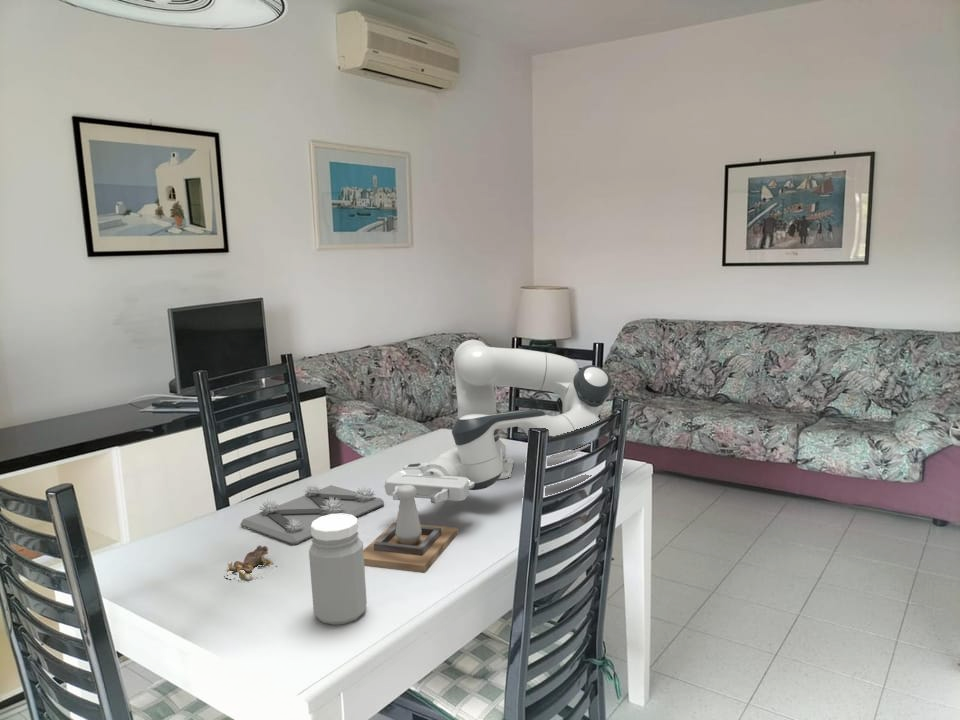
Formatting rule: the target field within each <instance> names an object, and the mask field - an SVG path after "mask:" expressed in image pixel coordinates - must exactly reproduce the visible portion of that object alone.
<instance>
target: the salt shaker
mask: <svg viewBox="0 0 960 720" xmlns="http://www.w3.org/2000/svg"><path fill="white" fill-rule="evenodd" d="M415 496H416V488H415V487H414V486H412V485H402V486H400V487H398V489H397V497H398V498H400V500H399V506H398V512H397V520H396V522H397V525H396V532H395V534H396V536H397V538H398V540H399V542H400V544H403V545H416V543H417V542H418V541H419V539H420V536H421V533H422V530H421V525H420V524H421V521H420V517H419V513H418V510H417V509H418V508H417V504H416V500H415V498H414V497H415Z"/></svg>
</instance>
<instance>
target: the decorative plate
mask: <svg viewBox="0 0 960 720" xmlns="http://www.w3.org/2000/svg"><path fill="white" fill-rule="evenodd" d="M306 488H307V489H304V490H303V492H304V494H303V495H302V496H299V497H297V498H294V499H292V500H289V501H286V502H284V503H281V504H279V503H276V502H277V500H274V501H273V500H271V499H270V500H269V499H268V498H267V502H266V501H263V502H261V504H262V505H263V506H259V510H260V512H257V513H255V514H253V515H250V516H247V517H245V518H243V519H242V521H241V522H240V526H241V527H244V528H245V527H246V529H248V528H249V530H251V531H255V532H256V533H257V532H258V533H259V532H260V534H262V535H265V536H268V537H270V536H271V538H273V537H274V538H273V539H276V540H279V541H281V540H282V542H284V541H285V542H284V543H287V544H290V545H292V544H296V545H298V544H300V543H302V542H304V540H305V541H306V539H307V540H309V539H312V538H313V536H312V534H311V525H312V522H313V521H314V520H316V519H318V518H319V517H321V516H325V515H329V514H339V513H344V514H350V515H353V516H354V517H356V518H359V517H361V516H362V515H365V514H368V513H370V512H372V511H374V510H376V509H379V508H381V507H382V506H384V505H385V502H384V499H382V498H380V497H378V496H377V497H376V496H375V495H376V493H375V492H374V491H372V488H371V487H370V486H369V487H367V488H366V486H363V485H362V487H361V488H360V489H359V488H358V490H356V491H355V490H354V491H353V490H350V489H347V488H343V487H340V486H336V485H332V484H331V485H329V486H325V487H323V488H321V489H320V487H318V484H316V485H307V486H306ZM297 543H298V544H297Z"/></svg>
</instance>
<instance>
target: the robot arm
mask: <svg viewBox="0 0 960 720" xmlns="http://www.w3.org/2000/svg"><path fill="white" fill-rule="evenodd" d="M455 349H456V350H455V352H454V357H453V361H454V363H453V365H454V379H455V388H456V389H455V390H456V401H457V403H456V404H457V420H456V421H455V423H454V424H453V427H452V430H451V435H452V437H453V440H454V446H453V448H449V449H447V450H445V451H443V452H441V453H440V454H438V456H436V457H435V458H434V459H432V460H429V461H426V462H425V461H424V462H420V463H410V464H406V465H403V466H402V469H401V470H398V471H396V472H394V473H393V474H391V475H390V476H389V477H388V478H387V479H386V480H385V481H384V489H385V494H386V495H387V496H389V497H390V496H391V497H392V500H393V501H400V498H398V497H397V489H398V487H400V486H402V485H412V486H414V487H415V488H416V496H415V497H414V499H415V498H416V499H427V500H428V499H430V503H431V504H438V503H440V502H443V501H452V502H453V501H455V502H460V501H461V502H462V501H464V500H466V498H468V495H469V494H470V491H479V490H484V489H487V488H489V487H491V486H493V485H494V484H495V483H496V482H497V481H498V480H502V479H508V477H509V478H511V477H512V473H511V472H513V469H512V468H514V465H513V463H514V464H515V461H514V460H515V459H513V458H510V457H507V447H506V444H504V442H503V441H501V440H502V439H500V429H509V428H515V427H519V428H521V430H522V431H523V432H524V433H525V434H526V436H528V430H529V428H546V429H548V430H549V435H550V436H556V435H560V434H563V433H567V432H571V431H574V430H576V429H580V428H583V427H586V426H589V425H591V424H593V423H595V422H597V421H599V420H600V421H601V419H600V417H599V416H600V414H601V413H602V411H603V409H604V406H605V404H606V401H607V399H608V397H609V395H610V393H611V389H612V378H611V376H610V374H609V372H607V371H606V370H605V369H604V368H603V367H600V366H597V365H593V364H592V365H591V364H589V365H585V366H582V367H581V368H580V367H579V365H578V363H577V361H576V360H574V359H571V358H569V357H566V356H563V355H559V354H555V353H551V352H545V351H540V350H539V351H538V350H532V349H524V348H519V347H518V348H507V347H493V346H492V347H491V346H488V345H486V344H485V342H483V341H480V340H478V339H469V340H466V341H463V342H462V343H461V344H459V346H458V347H456V348H455ZM495 387H500V388H501V387H505V388H506V387H507V388H509V387H513V388H521V389H527V390H528V389H529V390H533V391H534V390H535V391H543V392H551V393H554V394H556V395H558V398H557V399H556V406H557V408H558V411H559V414H558V415H553V416H552V415H548V414H546V413H545V412H544V410H541V409H523V410H522V409H521V410H511V411H502V412H497V399H496V393H495ZM591 445H592V444H587V445H585V446H583V447H581V448H578V449H575V450H571V451H566V452H563V453H560V454H556V455H552V456H550V457H549V459H560V458H564V457H568V456H570V455H573V454H576V453H578V452H580V451H582V450H585V449H586V448H588V447H589V446H591Z"/></svg>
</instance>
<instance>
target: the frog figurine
mask: <svg viewBox="0 0 960 720" xmlns="http://www.w3.org/2000/svg"><path fill="white" fill-rule="evenodd" d="M268 554H269V548H268V546H266V545H263V546H262V545H258V546H256V549H254V550H252V551H249V552H248V553H247V554H245V557H244V559H243V562H242V561H239V560H236V561H234V563H233V561H231V562H230V563H227V567H228V570H227V571H234V570H236V569H237V573H239V578H240V580H241V581H244V582H243V583H246V582H248V583H250V582H249V581H252V580H255V581H257V580H256V579H258V580H260V579H259V578H261V579H263V578H262V576H263V575H259V576H260V577H258V576H255V577H256V578H255V577H254V576H252V575H251V574H250V573H252V572H253V570H254V568H255V567H257V566H258V565H260V563H263V564H264V566H270V565H273V566H274V562H273V561H272V560H270V559H268V558H265V555H268ZM240 570H244V571H245V573H243V572H241V571H240ZM234 572H235V571H234ZM224 578H225V579H226V577H224ZM227 578H228V577H227ZM241 581H240V582H241ZM245 581H246V582H245ZM252 582H253V581H252Z"/></svg>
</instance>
